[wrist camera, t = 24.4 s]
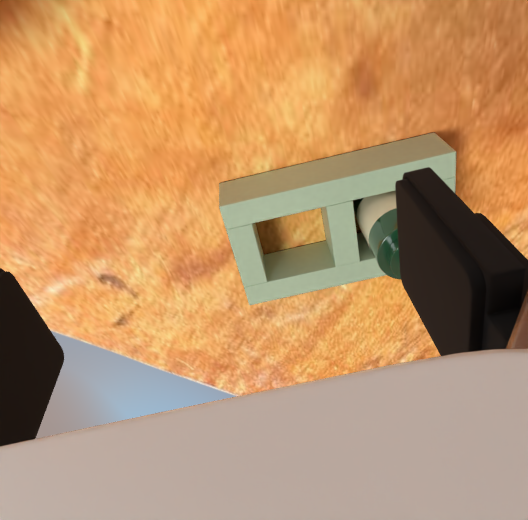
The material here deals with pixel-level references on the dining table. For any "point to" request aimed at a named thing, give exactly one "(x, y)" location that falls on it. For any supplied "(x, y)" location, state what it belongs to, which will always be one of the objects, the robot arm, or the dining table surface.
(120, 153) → the dining table surface
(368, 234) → the bottle
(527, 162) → the dining table surface
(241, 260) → the rack
